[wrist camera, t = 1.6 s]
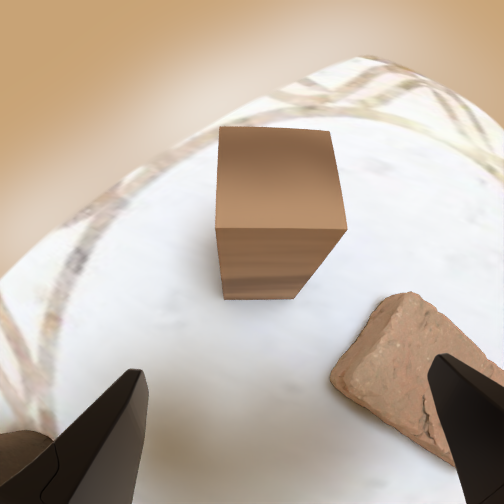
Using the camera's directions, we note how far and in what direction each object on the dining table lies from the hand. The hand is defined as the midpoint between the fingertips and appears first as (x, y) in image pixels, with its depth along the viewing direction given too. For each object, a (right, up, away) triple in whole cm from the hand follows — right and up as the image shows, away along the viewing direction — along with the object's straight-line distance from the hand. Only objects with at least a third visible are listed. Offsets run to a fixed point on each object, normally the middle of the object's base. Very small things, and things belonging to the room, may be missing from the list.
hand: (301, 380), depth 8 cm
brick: (+13, -8, +13) cm, 20 cm away
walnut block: (-1, +3, +15) cm, 16 cm away
